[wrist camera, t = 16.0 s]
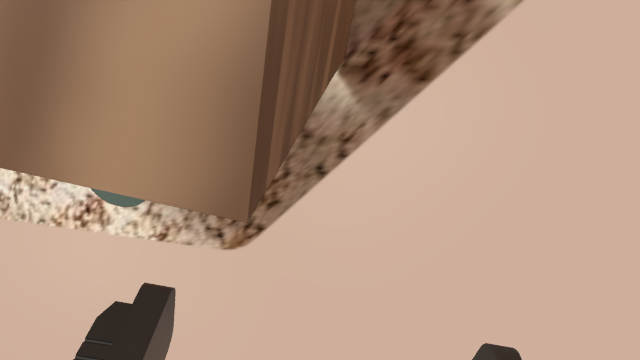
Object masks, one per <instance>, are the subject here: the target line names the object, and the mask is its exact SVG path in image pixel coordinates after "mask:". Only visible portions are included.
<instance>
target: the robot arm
mask: <svg viewBox="0 0 640 360" xmlns="http://www.w3.org/2000/svg"><path fill="white" fill-rule="evenodd" d="M174 309H175V288H171V287H166V286H160V285H154V284H149V283H144V284H143V285H142V286H141V288H140V290H139V292H138V294H137V296H136V298H135V300H134V302H133V304H128V303H123V302H117V301H115V302H114V303H113V304H112V305H111V306H110V307H109V308H107V309H106V310H105V311H104V312H103V313H102V314H100V315H99V316H98V317H97V318H96V320H95V322H94V323H93V325H92V327H91V329H90V331H89V332H88V334H87V336H86V338H85V341H84V342H83V343H82V345H81V347H80V348H79V350H78V352H77V354H76V357H75V359H73V360H165V357H166V354H167V352H168V348H169V345H170V342H171V338H172V333H173V326H174ZM472 360H522V359H521V357H520V355H519V353H518V351H517V350H516V349H514V348H510V347H504V346H499V345H493V344H487V343H485V344H483V345H482V346H481V347H480V349H479V350H478V352H477V353H476V355H475V357H474V358H473V359H472Z"/></svg>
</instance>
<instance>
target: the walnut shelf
mask: <svg viewBox="0 0 640 360" xmlns="http://www.w3.org/2000/svg"><path fill="white" fill-rule="evenodd" d="M354 4H355V0H0V168H4V169H8V170H13V171H17V172H22V173H26V174H31V175H35V176H40V177H44V178H49V179H53V180H58V181H62V182H67V183H71V184H76V185H80V186H84V187H89V188H93V189H98V190H102V191H107V192H111V193H116V194H120V195H125V196H129V197H134V198H138V199H143V200H147V201H152V202H156V203H161V204H165V205H170V206H174V207H179V208H183V209H188V210H192V211H197V212H201V213H206V214H210V215H215V216H219V217H224V218H228V219H233V220H237V221H242V222H246V223H247V222H248V220H249V219H250V217H251V215H252V214H253V212H254V210H255V208H256V207H257V205H258V203H259V202H260V200H261V198H262V197H263V195H264V193H265V191H266V190H267V188H268V186H269V185H270V183H271V181H272V180H273V178H274V176H275V174H276V173H277V171H278V169H279V168H280V166H281V164H282V163H283V161H284V159H285V157H286V156H287V154H288V152H289V151H290V149H291V147H292V146H293V144H294V142H295V140H296V139H297V137H298V135H299V134H300V132H301V130H302V129H303V127H304V125H305V123H306V122H307V120H308V118H309V117H310V115H311V113H312V112H313V110H314V108H315V106H316V105H317V103H318V101H319V100H320V98H321V96H322V95H323V93H324V91H325V89H326V88H327V86H328V84H329V83H330V81H331V79H332V78H333V76H334V74H335V72H336V71H337V69H338V67H339V66H340V64H341V62H342V61H343V59H344V57H345V53H346V48H347V42H348V37H349V31H350V26H351V21H352V15H353V10H354Z"/></svg>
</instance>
